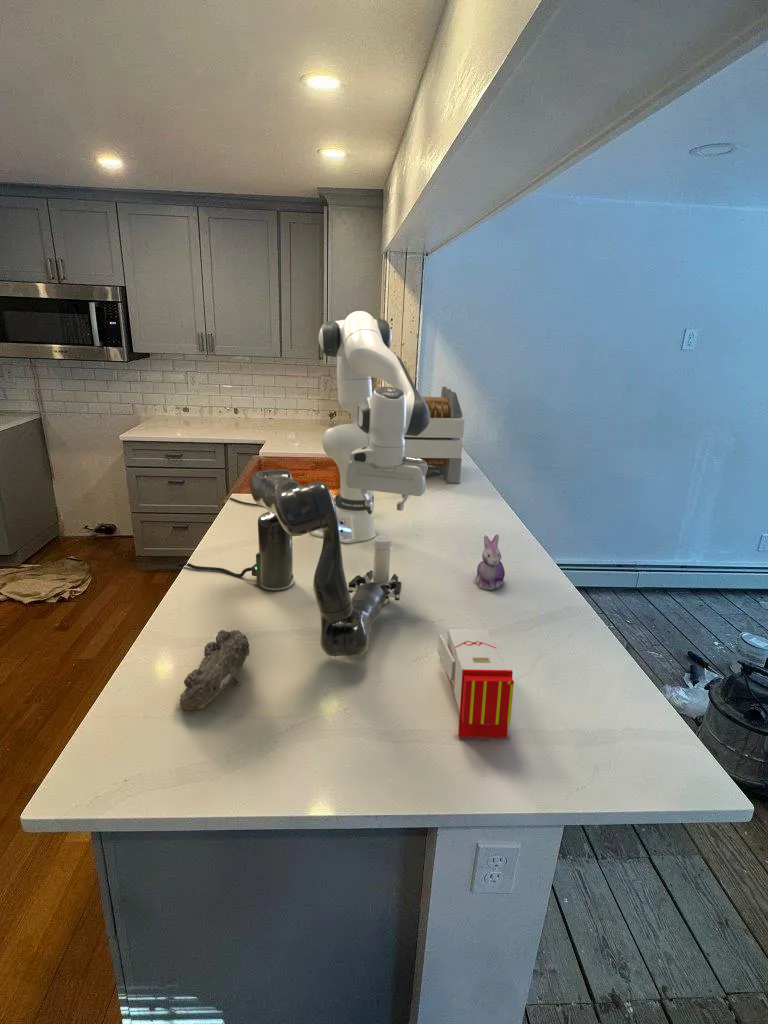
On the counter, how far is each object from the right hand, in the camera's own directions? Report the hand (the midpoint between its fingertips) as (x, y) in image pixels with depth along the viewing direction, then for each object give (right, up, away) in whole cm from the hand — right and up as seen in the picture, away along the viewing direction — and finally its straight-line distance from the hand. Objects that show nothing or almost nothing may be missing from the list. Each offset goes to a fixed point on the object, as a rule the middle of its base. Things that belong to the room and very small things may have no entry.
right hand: (384, 507), depth 145 cm
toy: (+18, -39, -26) cm, 50 cm away
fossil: (-34, -36, -26) cm, 57 cm away
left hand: (0, -18, +9) cm, 20 cm away
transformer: (+17, +18, +130) cm, 133 cm away
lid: (0, -8, +3) cm, 9 cm away
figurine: (+31, -22, +21) cm, 44 cm away
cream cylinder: (-1, -25, +9) cm, 27 cm away
